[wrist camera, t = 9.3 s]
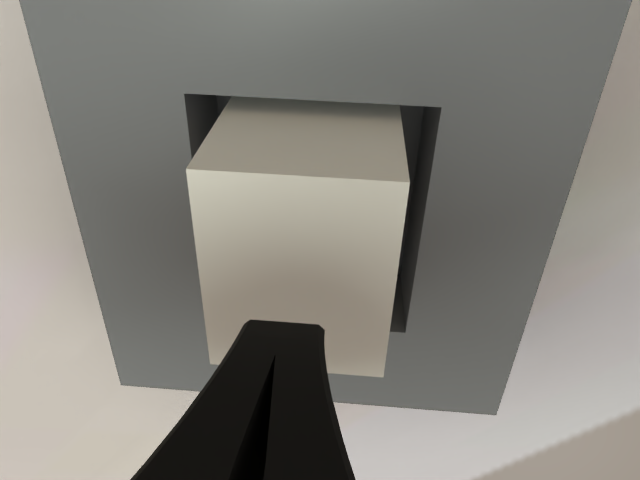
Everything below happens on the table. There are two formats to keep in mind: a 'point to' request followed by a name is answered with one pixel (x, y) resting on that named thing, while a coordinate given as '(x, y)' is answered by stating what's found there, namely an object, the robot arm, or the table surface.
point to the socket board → (338, 86)
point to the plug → (302, 223)
